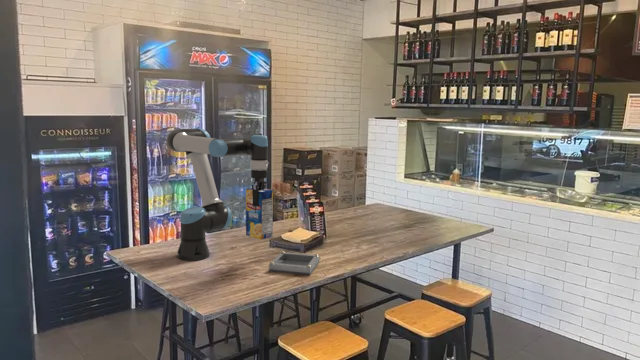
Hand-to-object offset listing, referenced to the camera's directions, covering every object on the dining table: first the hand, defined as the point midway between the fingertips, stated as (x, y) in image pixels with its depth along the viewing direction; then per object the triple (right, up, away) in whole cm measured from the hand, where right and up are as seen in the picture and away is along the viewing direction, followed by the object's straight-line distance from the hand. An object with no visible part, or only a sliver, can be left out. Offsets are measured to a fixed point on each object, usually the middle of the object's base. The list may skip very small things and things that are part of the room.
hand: (259, 219), depth 226 cm
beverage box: (0, -8, +1) cm, 8 cm away
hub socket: (+17, -22, +1) cm, 28 cm away
